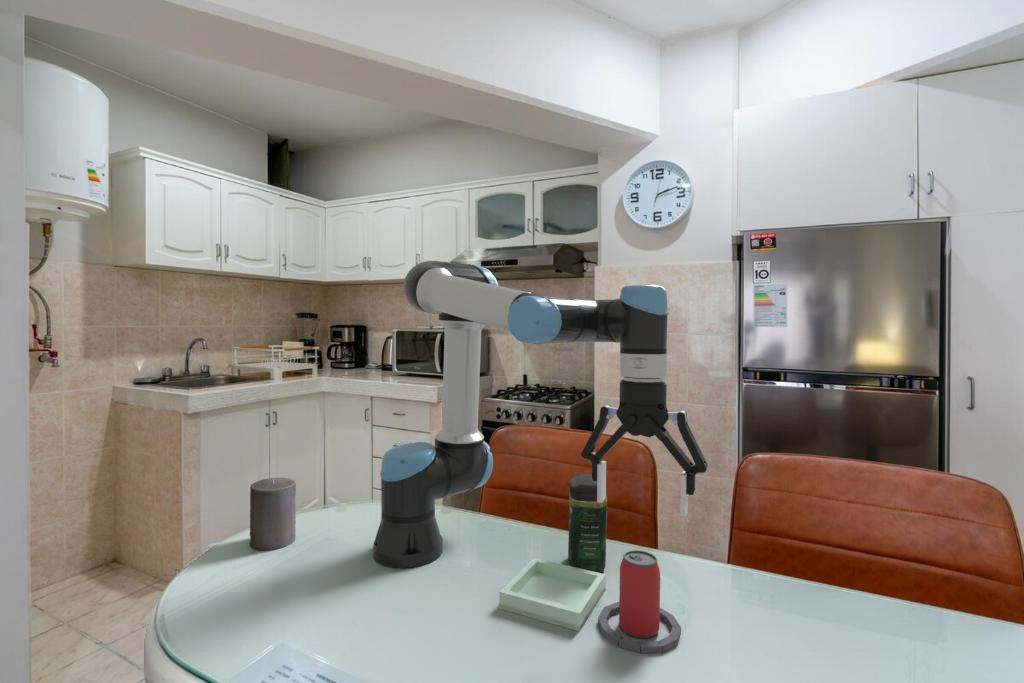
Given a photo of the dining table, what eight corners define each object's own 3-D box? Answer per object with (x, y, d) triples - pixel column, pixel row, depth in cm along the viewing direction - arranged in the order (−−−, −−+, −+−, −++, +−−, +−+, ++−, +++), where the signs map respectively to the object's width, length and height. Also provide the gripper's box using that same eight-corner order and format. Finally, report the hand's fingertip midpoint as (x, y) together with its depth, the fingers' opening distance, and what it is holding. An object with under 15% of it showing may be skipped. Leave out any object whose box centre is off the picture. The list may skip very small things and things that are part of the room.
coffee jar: (608, 576, 103) (609, 485, 102) (568, 574, 103) (569, 483, 103) (603, 554, 112) (604, 471, 112) (567, 553, 113) (568, 470, 113)
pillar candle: (239, 547, 115) (239, 481, 114) (271, 530, 124) (271, 470, 123) (275, 554, 112) (275, 486, 111) (305, 536, 121) (305, 474, 121)
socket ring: (589, 638, 82) (589, 632, 82) (611, 599, 94) (611, 594, 94) (672, 662, 76) (672, 656, 76) (685, 618, 88) (685, 612, 88)
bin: (499, 608, 91) (499, 591, 91) (533, 572, 104) (534, 557, 104) (579, 631, 84) (579, 613, 84) (605, 589, 97) (605, 574, 97)
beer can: (629, 612, 90) (630, 545, 89) (665, 626, 86) (667, 556, 85) (611, 629, 85) (612, 558, 84) (649, 645, 81) (650, 570, 80)
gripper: (563, 377, 86) (562, 501, 87) (722, 385, 75) (720, 528, 76) (578, 374, 93) (577, 489, 94) (726, 381, 82) (724, 511, 82)
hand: (641, 507), depth 85 cm, fingers open, 13 cm apart
